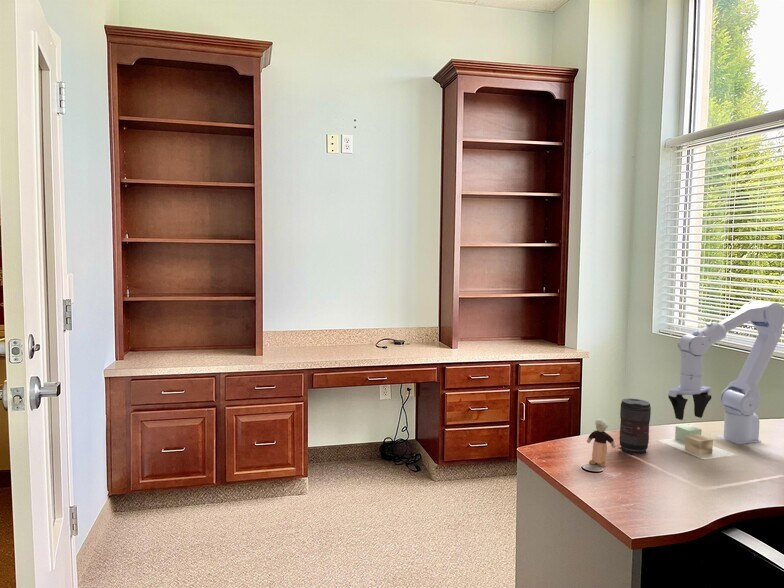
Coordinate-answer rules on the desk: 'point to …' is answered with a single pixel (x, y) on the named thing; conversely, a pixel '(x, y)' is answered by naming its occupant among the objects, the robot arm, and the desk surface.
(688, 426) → the sage block
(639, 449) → the camera lens
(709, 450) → the beech block
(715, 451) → the plate
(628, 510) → the desk surface
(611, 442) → the grandmother figurine
